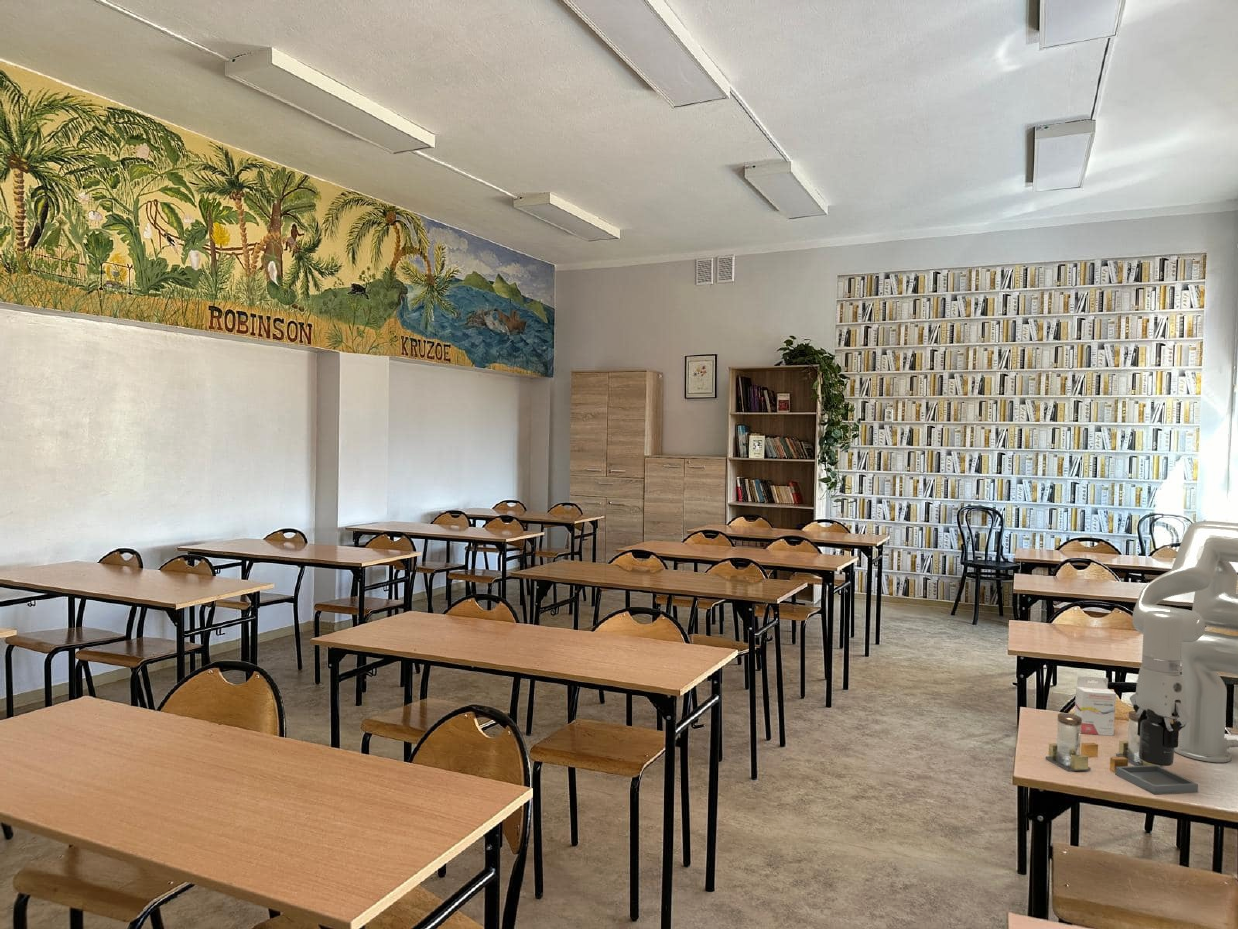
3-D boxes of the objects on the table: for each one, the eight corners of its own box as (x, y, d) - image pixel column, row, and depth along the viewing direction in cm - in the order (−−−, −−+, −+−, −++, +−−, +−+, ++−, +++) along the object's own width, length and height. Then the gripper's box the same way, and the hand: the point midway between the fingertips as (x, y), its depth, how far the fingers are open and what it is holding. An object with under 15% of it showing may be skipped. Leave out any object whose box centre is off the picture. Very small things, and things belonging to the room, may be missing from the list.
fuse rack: (1131, 753, 212) (1134, 707, 212) (1167, 769, 201) (1169, 721, 201) (1041, 756, 208) (1043, 709, 207) (1072, 774, 197) (1075, 724, 196)
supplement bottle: (1175, 769, 188) (1177, 716, 188) (1139, 762, 191) (1142, 711, 191) (1172, 759, 194) (1174, 708, 194) (1137, 753, 197) (1140, 703, 197)
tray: (1156, 772, 199) (1157, 765, 199) (1197, 792, 188) (1198, 784, 188) (1115, 774, 197) (1115, 767, 197) (1154, 794, 186) (1154, 786, 186)
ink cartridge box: (1081, 734, 226) (1083, 680, 225) (1073, 728, 231) (1075, 675, 230) (1114, 736, 225) (1117, 682, 225) (1105, 730, 230) (1108, 677, 230)
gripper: (1207, 675, 184) (1203, 754, 185) (1144, 655, 201) (1141, 728, 202) (1178, 675, 183) (1174, 755, 183) (1117, 655, 200) (1114, 729, 200)
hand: (1157, 740), depth 192 cm, fingers closed on supplement bottle, 6 cm apart
